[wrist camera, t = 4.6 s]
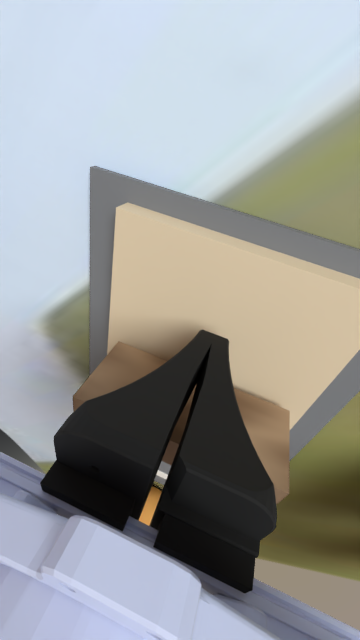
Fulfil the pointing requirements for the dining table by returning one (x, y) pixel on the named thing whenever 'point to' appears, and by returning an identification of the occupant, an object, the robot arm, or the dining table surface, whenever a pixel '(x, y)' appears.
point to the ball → (150, 506)
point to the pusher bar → (258, 416)
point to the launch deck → (226, 296)
